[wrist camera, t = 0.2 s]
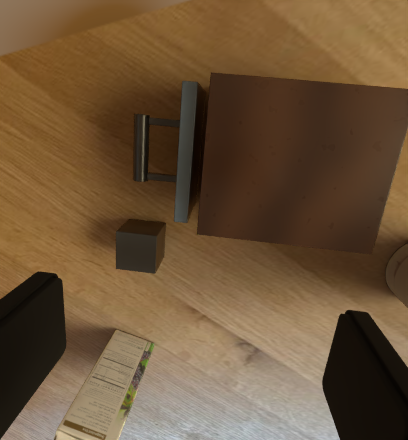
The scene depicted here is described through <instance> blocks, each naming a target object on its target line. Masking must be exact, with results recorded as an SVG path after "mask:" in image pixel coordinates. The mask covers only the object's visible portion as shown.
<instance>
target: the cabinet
mask: <svg viewBox="0 0 408 440" xmlns="http://www.w3.org/2000/svg"><path fill="white" fill-rule="evenodd" d="M407 129H408V89H402V88H390V87H378V86H366V85H354V84H342V83H330V82H318V81H306V80H294V79H282V78H270V77H258V76H246V75H234V74H222V73H211V77H210V89H209V100H208V112H207V123H206V135H205V146H204V158H203V170H202V181H201V193H200V204H199V216H198V227H197V234H199V235H208V236H216V237H225V238H234V239H243V240H251V241H260V242H269V243H277V244H286V245H295V246H303V247H312V248H321V249H329V250H338V251H347V252H355V253H364V254H372V251H373V248H374V244H375V241H376V237H377V234H378V230H379V227H380V223H381V220H382V216H383V213H384V209H385V206H386V202H387V199H388V196H389V192H390V189H391V185H392V182H393V178H394V175H395V171H396V168H397V164H398V161H399V157H400V154H401V150H402V147H403V143H404V140H405V136H406V133H407Z"/></svg>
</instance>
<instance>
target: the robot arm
mask: <svg viewBox="0 0 408 440" xmlns="http://www.w3.org/2000/svg"><path fill="white" fill-rule="evenodd" d="M65 348H66V330H65V315H64V300H63V284H62V280H61V279H60V278H58V276H57V274H55V273H47V272H36V273H35V274H34V275H32V276H31V277H30V278H28V279H27V280H26V281H24V282H23V283H22V284H20V285H19V286H18V287H16V288H15V289H14V290H12V291H11V292H10V293H8V294H7V295H6V296H4V297H3V298H2V299H0V439H1V438H2V436H3V435H4V434H5V432H6V431H7V430H8V428H9V427H10V425H11V424H12V423H13V421H14V420H15V419H16V417H17V416H18V415H19V413H20V412H21V411H22V409H23V408H24V406H25V405H26V404H27V402H28V401H29V400H30V398H31V397H32V396H33V394H34V393H35V392H36V390H37V389H38V387H39V386H40V385H41V383H42V382H43V381H44V379H45V378H46V377H47V375H48V374H49V373H50V371H51V370H52V368H53V367H54V366H55V364H56V363H57V362H58V360H59V359H60V358H61V356H62V355H63V353H64V351H65ZM322 385H323V391H324V394H325V397H326V400H327V403H328V406H329V409H330V412H331V414H332V417H333V420H334V423H335V426H336V429H337V432H338V435H339V438H340V440H408V367H407V366H406V364H405V363H404V362H403V360H402V359H401V358H400V356H399V355H398V353H397V352H396V351H395V349H394V348H393V347H392V345H391V344H390V342H389V341H388V340H387V338H386V337H385V336H384V334H383V333H382V331H381V330H380V329H379V327H378V326H377V325H376V323H375V322H374V320H373V319H372V318H371V316H370V315H369V314H368V313H367V312H361V311H353V310H347V311H346V312H345V314H341V315H340V316H339V319H338V323H337V327H336V330H335V334H334V338H333V342H332V345H331V349H330V353H329V357H328V361H327V364H326V368H325V372H324V376H323V381H322Z"/></svg>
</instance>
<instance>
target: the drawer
mask: <svg viewBox="0 0 408 440" xmlns="http://www.w3.org/2000/svg"><path fill="white" fill-rule="evenodd" d="M205 95H206V92H205V90H204V89H203V88H202V87H201V86H200V85H199V83H198V82H191V81H182V96H181V112H180V120H171V119H161V118H150V115H143V114H134V147H133V180H134V181H138V182H145V181H148V180H158V181H167V182H176V195H175V212H174V221H175V222H183V223H187V222H188V220H189V218H190V216H191V213H192V211H193V209H194V207H195V205H196V202H197V191H198V179H199V167H200V155H201V143H202V131H203V119H204V107H205ZM150 125H160V126H170V127H180V129H179V145H178V162H177V175H169V174H159V173H150V172H149V173H148V161H149V128H150Z"/></svg>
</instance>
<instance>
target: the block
mask: <svg viewBox="0 0 408 440" xmlns="http://www.w3.org/2000/svg"><path fill="white" fill-rule="evenodd" d="M165 228H166V223H161V222H152V221H143V220H134V219H129V220H128V221H127V222H126V223H125V224H123V225H122V226H121V227H120V228H119V229H118V230H117V231H116V269H122V270H130V271H138V272H146V273H154V274H155V273H156V271H157V269H158V267H159V265H160V263H161V261H162V260H163V258H164V248H165Z"/></svg>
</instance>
